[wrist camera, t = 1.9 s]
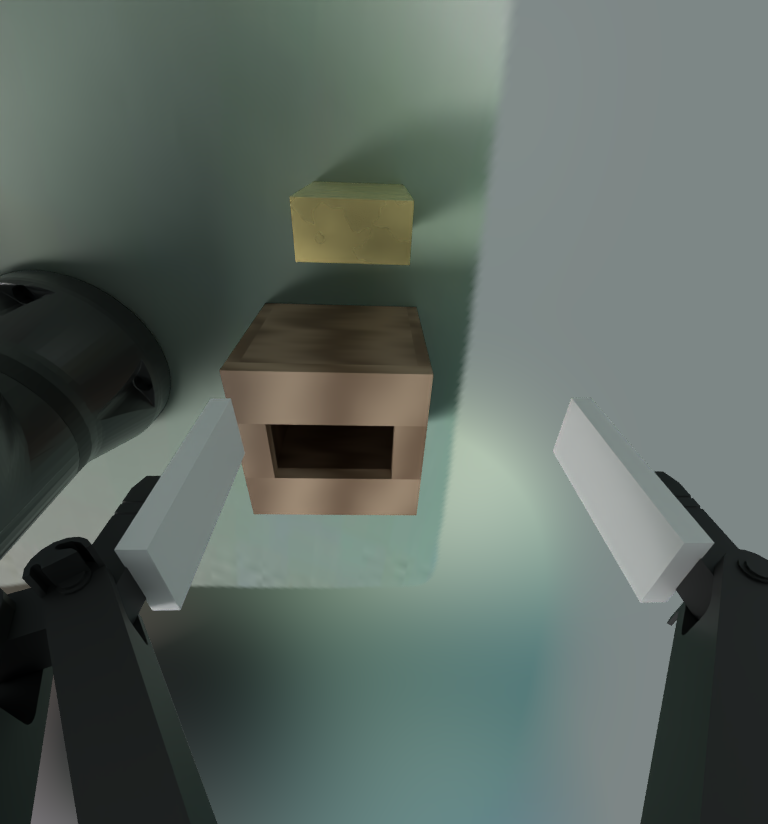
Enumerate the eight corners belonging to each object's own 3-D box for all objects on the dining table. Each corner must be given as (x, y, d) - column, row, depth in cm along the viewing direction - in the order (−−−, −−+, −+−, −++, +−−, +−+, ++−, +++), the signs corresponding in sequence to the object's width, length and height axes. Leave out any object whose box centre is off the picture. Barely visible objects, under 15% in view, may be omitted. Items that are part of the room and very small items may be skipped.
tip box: (283, 424, 37) (253, 514, 28) (265, 303, 30) (219, 370, 21) (406, 426, 38) (416, 515, 29) (416, 307, 31) (433, 374, 22)
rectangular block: (316, 229, 28) (295, 261, 20) (313, 181, 26) (289, 196, 18) (400, 232, 28) (409, 265, 20) (403, 184, 26) (414, 201, 19)
